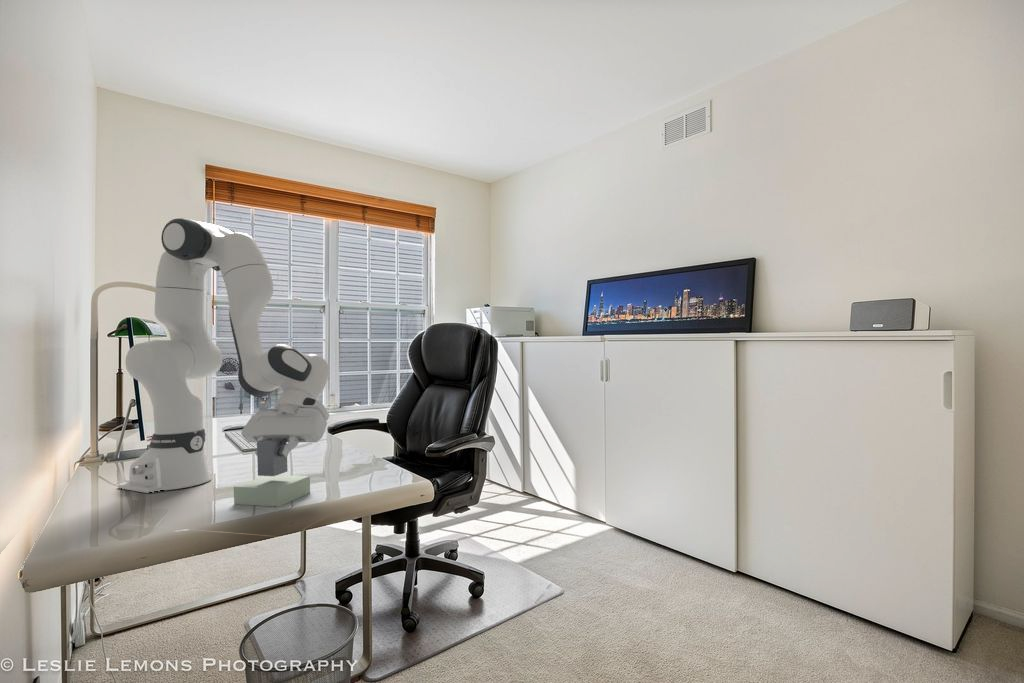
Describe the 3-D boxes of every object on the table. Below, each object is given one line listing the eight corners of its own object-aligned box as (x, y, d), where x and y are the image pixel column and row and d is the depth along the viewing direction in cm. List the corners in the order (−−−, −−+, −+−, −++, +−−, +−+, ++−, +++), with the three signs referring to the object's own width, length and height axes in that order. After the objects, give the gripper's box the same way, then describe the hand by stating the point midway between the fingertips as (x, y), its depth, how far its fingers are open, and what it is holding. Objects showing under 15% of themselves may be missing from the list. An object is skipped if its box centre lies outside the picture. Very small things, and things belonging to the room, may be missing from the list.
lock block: (257, 475, 118) (256, 441, 118) (271, 470, 122) (270, 437, 122) (274, 476, 116) (272, 441, 116) (287, 471, 121) (286, 438, 121)
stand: (234, 504, 115) (233, 486, 115) (269, 490, 126) (268, 474, 126) (278, 506, 112) (277, 488, 112) (310, 492, 123) (309, 476, 123)
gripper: (252, 401, 128) (224, 447, 118) (325, 400, 124) (303, 447, 115) (264, 416, 132) (238, 462, 123) (335, 415, 129) (315, 462, 119)
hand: (270, 455), depth 119 cm, fingers closed on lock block, 5 cm apart
